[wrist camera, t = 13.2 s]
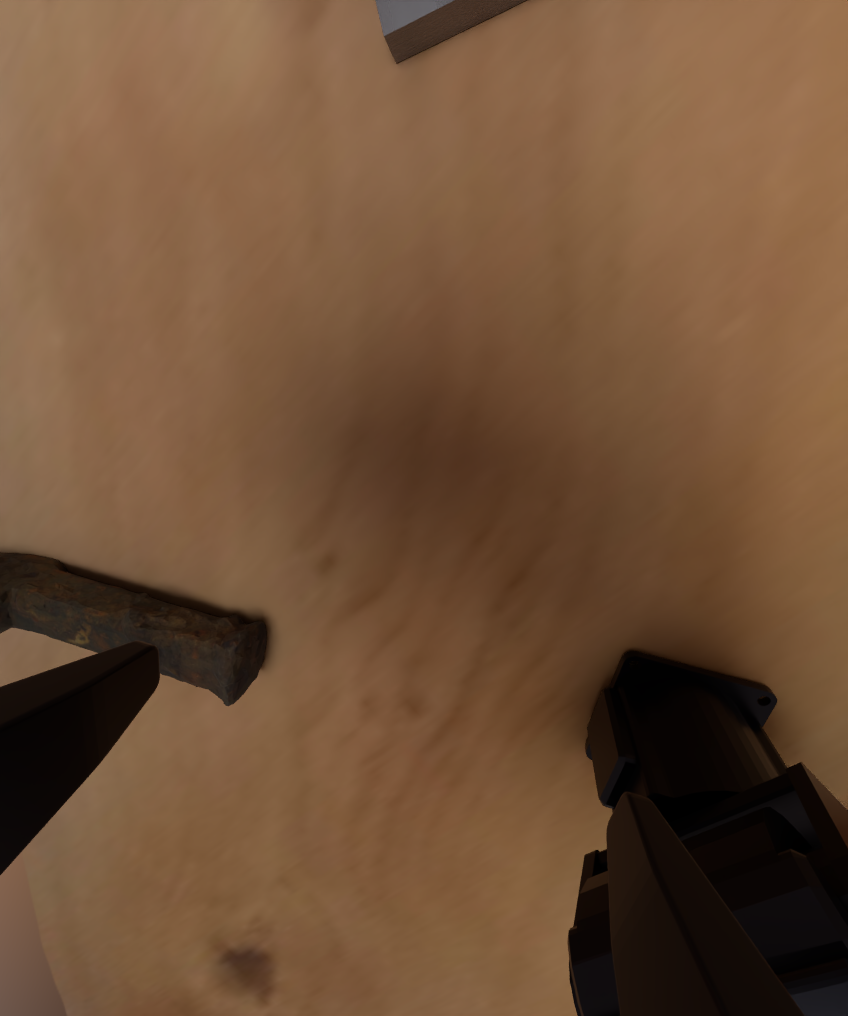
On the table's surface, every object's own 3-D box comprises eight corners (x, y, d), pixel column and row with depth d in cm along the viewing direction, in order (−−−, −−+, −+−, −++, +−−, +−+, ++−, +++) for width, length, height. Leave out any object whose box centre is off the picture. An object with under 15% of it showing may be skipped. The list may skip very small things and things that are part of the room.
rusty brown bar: (277, 612, 25) (225, 667, 21) (269, 669, 26) (219, 731, 22) (-17, 511, 27) (-119, 541, 23) (-10, 569, 28) (-104, 608, 24)
